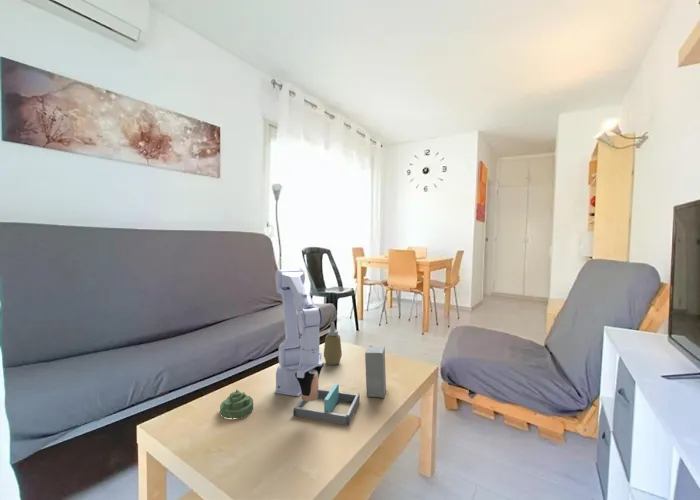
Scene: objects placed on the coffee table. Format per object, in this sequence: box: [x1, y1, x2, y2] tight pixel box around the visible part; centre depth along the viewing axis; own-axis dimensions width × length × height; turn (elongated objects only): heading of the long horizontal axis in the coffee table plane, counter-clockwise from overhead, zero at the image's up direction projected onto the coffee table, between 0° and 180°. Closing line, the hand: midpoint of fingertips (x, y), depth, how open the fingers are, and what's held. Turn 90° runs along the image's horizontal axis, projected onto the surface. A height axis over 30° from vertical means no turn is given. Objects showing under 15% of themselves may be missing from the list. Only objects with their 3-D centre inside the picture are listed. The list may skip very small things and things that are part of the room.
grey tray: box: [292, 388, 360, 426], centre depth 104 cm, size 18×14×3 cm
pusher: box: [323, 382, 340, 413], centre depth 103 cm, size 1×11×6 cm, turn 165°
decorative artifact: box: [219, 389, 254, 419], centre depth 102 cm, size 10×7×10 cm
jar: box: [300, 369, 319, 402], centre depth 98 cm, size 5×5×8 cm
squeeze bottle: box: [323, 321, 343, 366], centre depth 140 cm, size 8×8×18 cm
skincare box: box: [364, 345, 387, 399], centre depth 114 cm, size 8×7×16 cm
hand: (309, 390), depth 98 cm, fingers closed on jar, 5 cm apart
